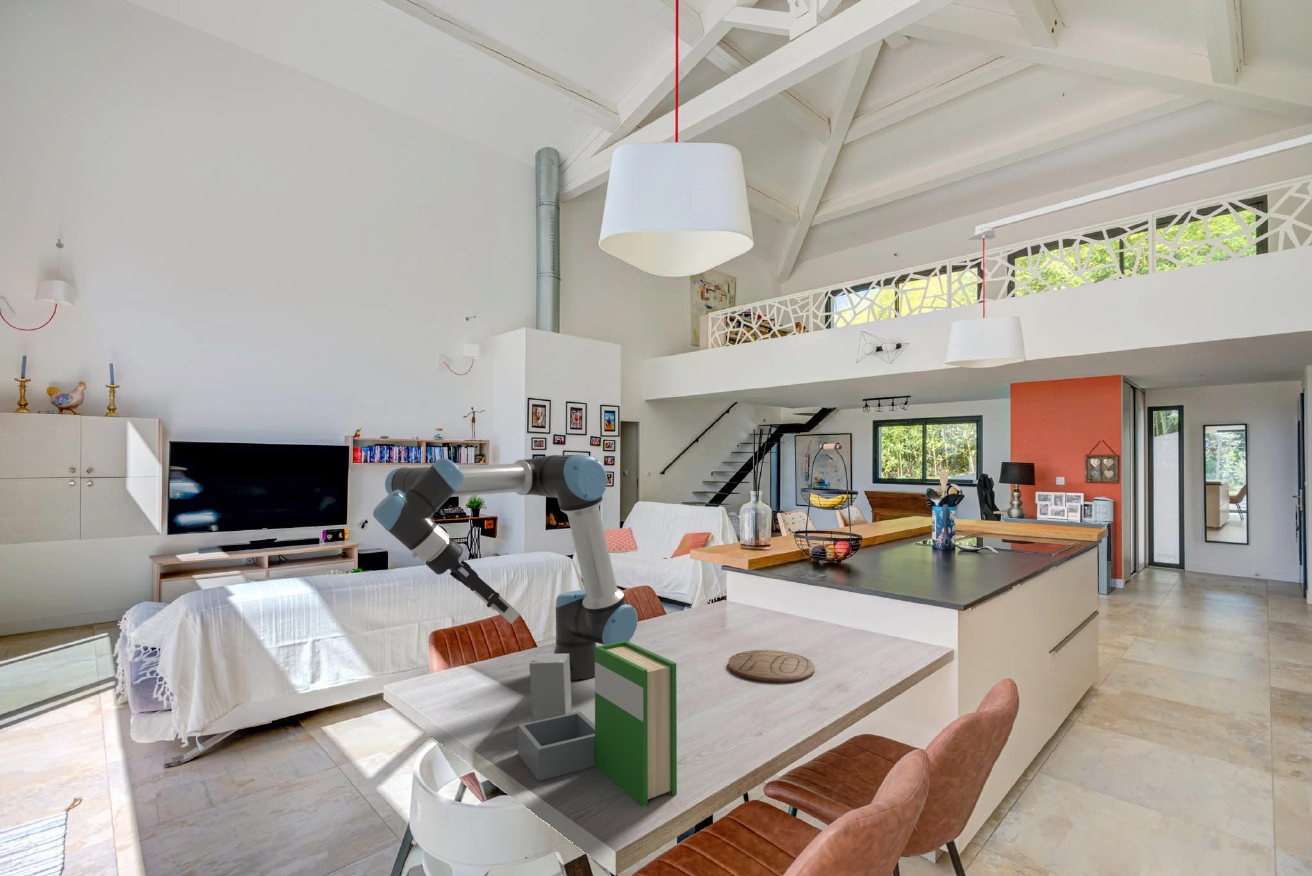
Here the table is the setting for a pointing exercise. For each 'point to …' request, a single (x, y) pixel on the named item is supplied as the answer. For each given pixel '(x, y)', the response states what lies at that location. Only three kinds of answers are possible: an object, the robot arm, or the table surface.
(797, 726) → the table surface
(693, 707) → the table surface
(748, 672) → the trivet
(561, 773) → the bin
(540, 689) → the skincare box
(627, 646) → the hardback book
